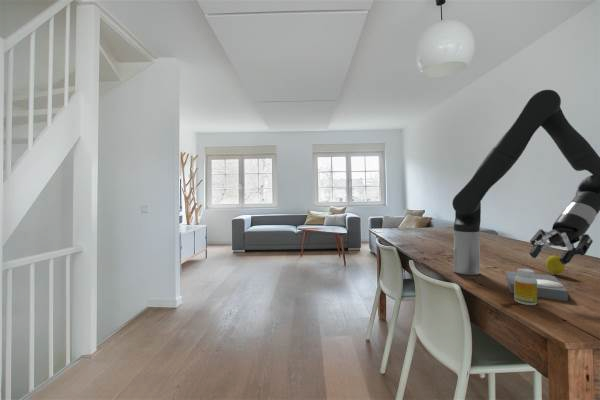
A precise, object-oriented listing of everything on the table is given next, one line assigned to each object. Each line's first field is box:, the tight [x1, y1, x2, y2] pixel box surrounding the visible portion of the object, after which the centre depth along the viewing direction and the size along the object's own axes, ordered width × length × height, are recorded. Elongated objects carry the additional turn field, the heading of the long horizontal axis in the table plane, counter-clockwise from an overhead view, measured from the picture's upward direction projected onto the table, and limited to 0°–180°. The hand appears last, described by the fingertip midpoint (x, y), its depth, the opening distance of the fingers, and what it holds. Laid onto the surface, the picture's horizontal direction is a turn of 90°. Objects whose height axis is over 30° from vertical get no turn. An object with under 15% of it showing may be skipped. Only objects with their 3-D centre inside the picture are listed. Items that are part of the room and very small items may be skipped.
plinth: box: [505, 270, 569, 302], centre depth 98 cm, size 14×18×3 cm
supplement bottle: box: [513, 268, 538, 306], centre depth 86 cm, size 5×5×10 cm
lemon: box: [545, 254, 566, 276], centre depth 113 cm, size 6×6×8 cm
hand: (546, 259), depth 88 cm, fingers open, 8 cm apart
